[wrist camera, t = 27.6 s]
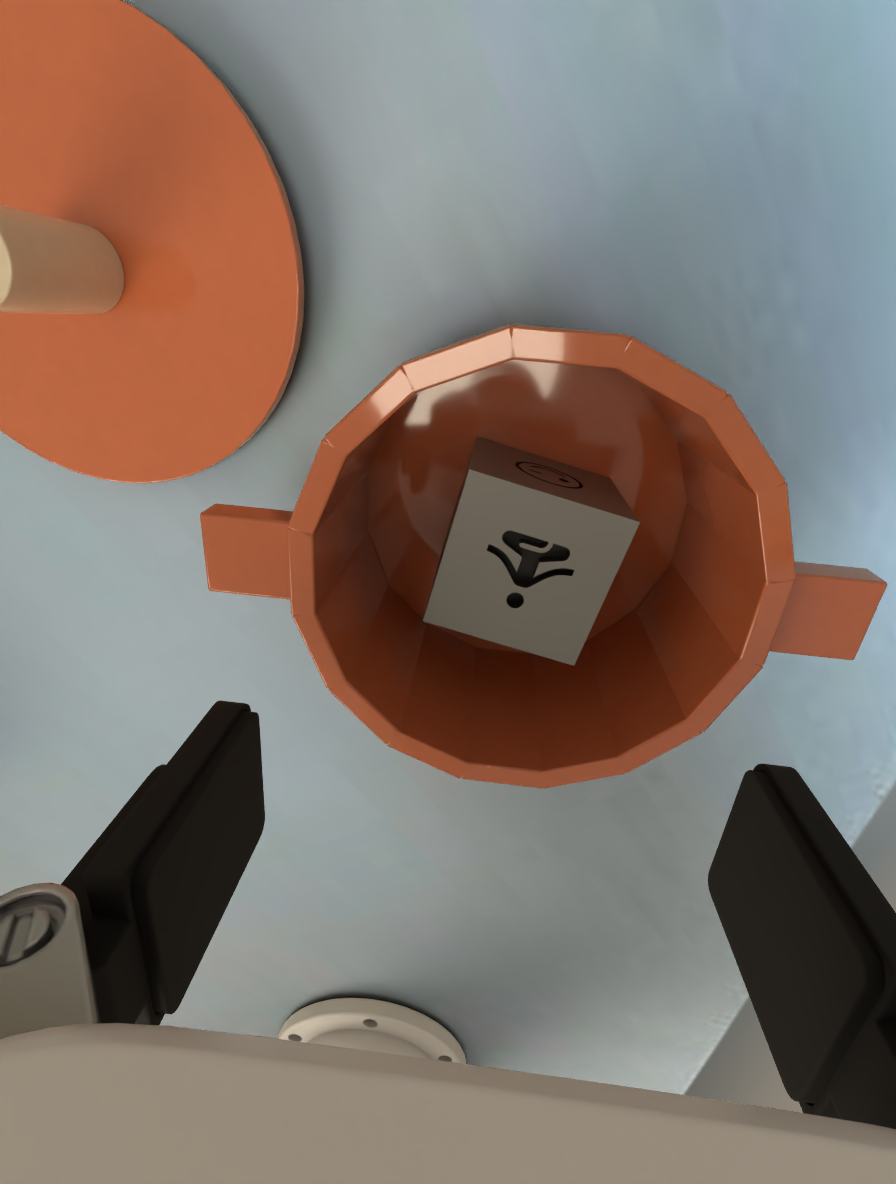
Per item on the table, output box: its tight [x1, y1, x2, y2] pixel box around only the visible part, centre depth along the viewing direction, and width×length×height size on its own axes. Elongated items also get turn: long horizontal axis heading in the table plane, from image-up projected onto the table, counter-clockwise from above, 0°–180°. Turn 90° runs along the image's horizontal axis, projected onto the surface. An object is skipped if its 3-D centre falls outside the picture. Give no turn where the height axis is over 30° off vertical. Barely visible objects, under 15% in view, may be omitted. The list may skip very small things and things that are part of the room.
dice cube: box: [423, 437, 640, 666], centre depth 19 cm, size 5×5×5 cm
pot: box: [200, 323, 887, 788], centre depth 19 cm, size 13×18×8 cm
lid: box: [0, 0, 304, 483], centre depth 17 cm, size 14×14×6 cm
